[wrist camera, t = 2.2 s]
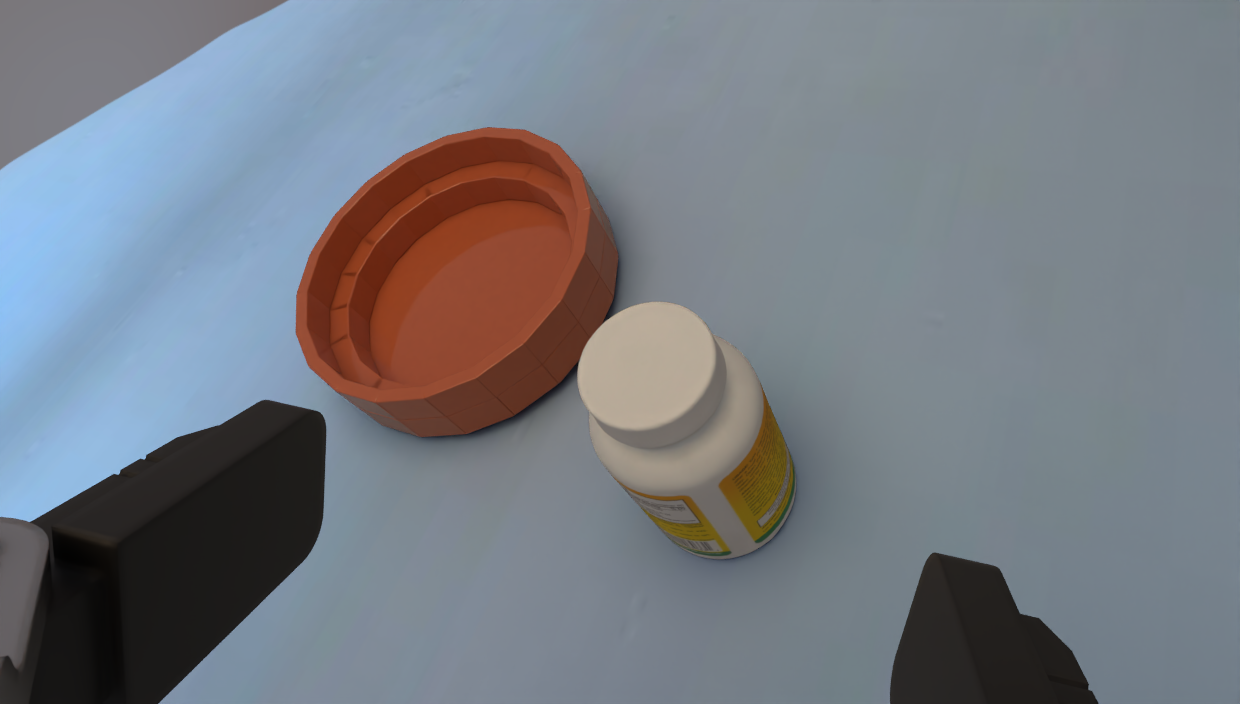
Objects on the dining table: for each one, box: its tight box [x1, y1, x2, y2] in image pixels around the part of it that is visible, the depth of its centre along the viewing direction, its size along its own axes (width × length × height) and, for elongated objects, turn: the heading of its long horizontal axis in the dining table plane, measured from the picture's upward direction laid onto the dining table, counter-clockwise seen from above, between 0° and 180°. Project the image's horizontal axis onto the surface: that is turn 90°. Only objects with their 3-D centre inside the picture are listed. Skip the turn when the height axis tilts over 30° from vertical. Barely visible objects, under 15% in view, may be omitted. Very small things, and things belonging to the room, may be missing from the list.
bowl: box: [296, 127, 618, 437], centre depth 38 cm, size 14×14×4 cm
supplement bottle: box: [577, 302, 796, 559], centre depth 26 cm, size 5×5×10 cm
